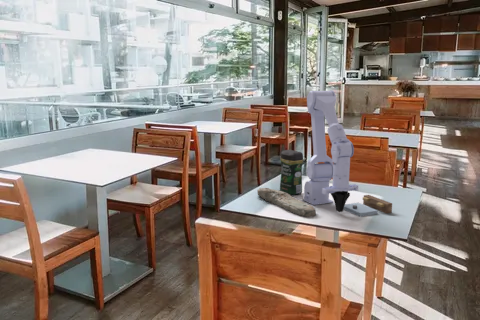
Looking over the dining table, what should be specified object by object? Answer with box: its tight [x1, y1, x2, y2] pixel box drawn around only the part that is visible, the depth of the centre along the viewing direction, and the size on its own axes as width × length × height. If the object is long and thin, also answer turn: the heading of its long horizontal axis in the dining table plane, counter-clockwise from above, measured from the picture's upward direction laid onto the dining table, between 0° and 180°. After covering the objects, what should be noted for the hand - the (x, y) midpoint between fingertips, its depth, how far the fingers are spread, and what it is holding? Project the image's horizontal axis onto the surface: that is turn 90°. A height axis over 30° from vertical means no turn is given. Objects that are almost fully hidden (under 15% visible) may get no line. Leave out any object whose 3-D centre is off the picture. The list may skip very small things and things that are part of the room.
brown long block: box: [362, 194, 393, 214], centre depth 165 cm, size 4×13×4 cm, turn 23°
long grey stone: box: [257, 187, 317, 218], centre depth 170 cm, size 35×5×10 cm
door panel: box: [343, 202, 379, 217], centre depth 162 cm, size 8×11×3 cm
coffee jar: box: [279, 149, 304, 196], centre depth 186 cm, size 10×8×19 cm
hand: (339, 211), depth 159 cm, fingers closed
